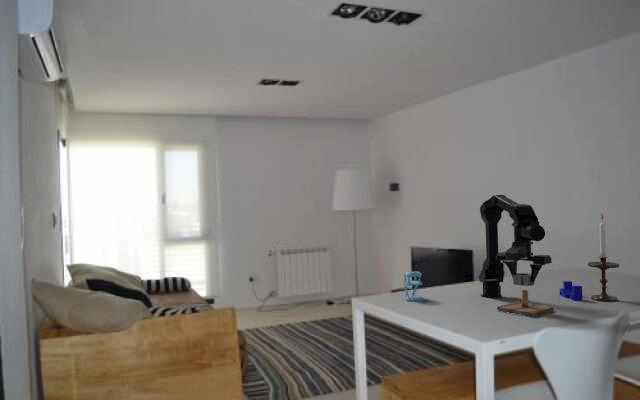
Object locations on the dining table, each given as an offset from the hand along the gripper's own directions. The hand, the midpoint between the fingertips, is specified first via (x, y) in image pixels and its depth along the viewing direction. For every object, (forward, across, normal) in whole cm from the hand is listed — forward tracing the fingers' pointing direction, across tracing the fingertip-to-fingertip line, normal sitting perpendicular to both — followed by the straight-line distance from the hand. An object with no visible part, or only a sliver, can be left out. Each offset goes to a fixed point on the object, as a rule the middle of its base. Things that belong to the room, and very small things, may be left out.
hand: (523, 281), depth 177 cm
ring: (+1, 0, 0) cm, 1 cm away
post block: (+11, 0, 0) cm, 11 cm away
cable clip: (+11, +1, +34) cm, 36 cm away
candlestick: (+11, +11, +40) cm, 43 cm away
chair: (+11, -43, -13) cm, 46 cm away
